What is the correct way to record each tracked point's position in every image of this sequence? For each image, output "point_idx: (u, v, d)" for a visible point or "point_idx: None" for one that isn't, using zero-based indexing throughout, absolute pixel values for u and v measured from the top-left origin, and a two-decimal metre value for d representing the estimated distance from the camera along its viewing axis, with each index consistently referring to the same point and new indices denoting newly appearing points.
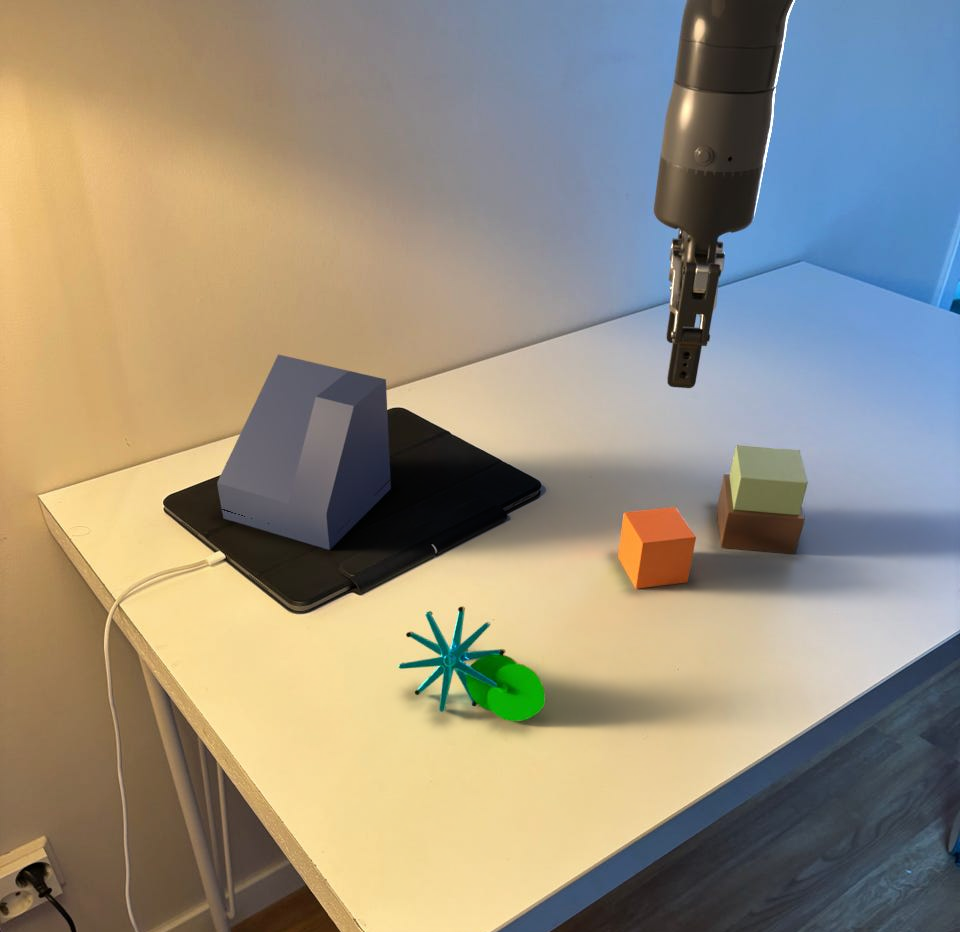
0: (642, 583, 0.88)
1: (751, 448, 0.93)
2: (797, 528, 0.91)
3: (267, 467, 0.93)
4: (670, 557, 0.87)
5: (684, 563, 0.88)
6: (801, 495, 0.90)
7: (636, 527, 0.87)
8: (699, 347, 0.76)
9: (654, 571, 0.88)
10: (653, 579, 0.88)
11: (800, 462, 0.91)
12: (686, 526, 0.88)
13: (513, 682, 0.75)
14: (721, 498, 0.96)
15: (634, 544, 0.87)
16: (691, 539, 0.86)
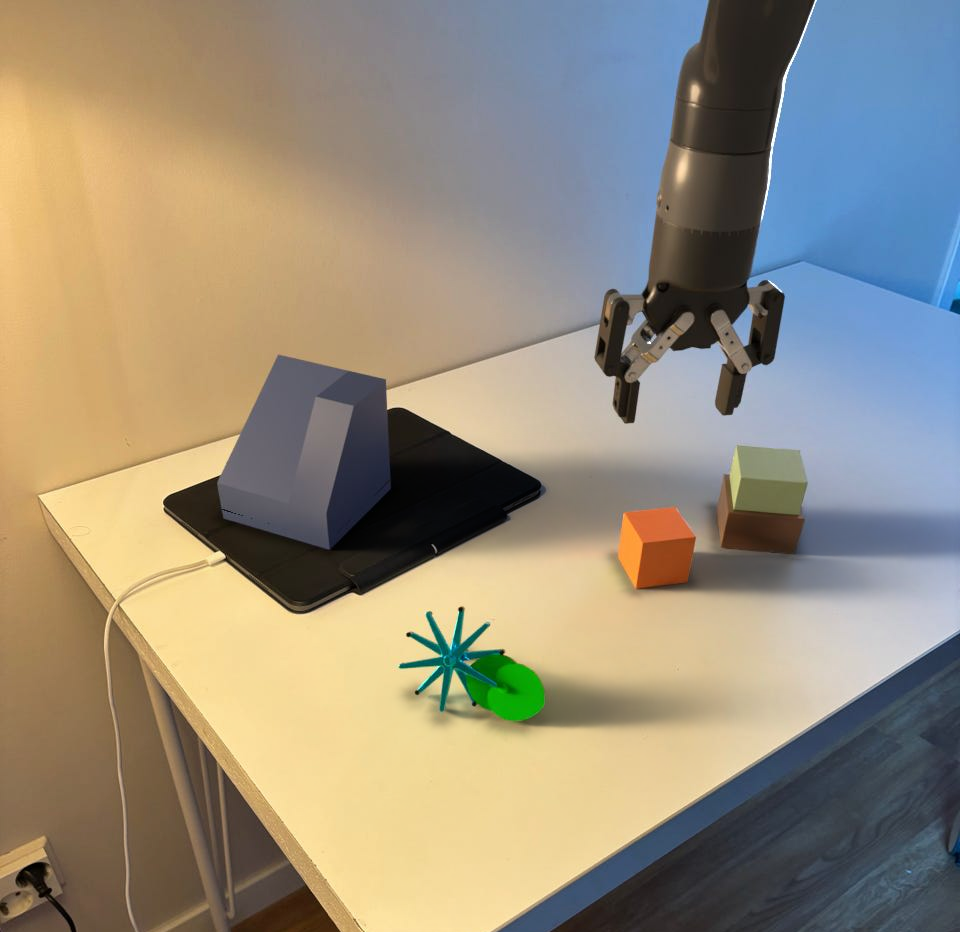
0: (642, 583, 0.88)
1: (751, 448, 0.93)
2: (797, 528, 0.91)
3: (267, 467, 0.93)
4: (670, 557, 0.87)
5: (684, 563, 0.88)
6: (801, 495, 0.90)
7: (636, 527, 0.87)
8: (630, 385, 0.77)
9: (654, 571, 0.88)
10: (653, 579, 0.88)
11: (800, 462, 0.91)
12: (686, 526, 0.88)
13: (513, 682, 0.75)
14: (721, 498, 0.96)
15: (634, 544, 0.87)
16: (691, 539, 0.86)
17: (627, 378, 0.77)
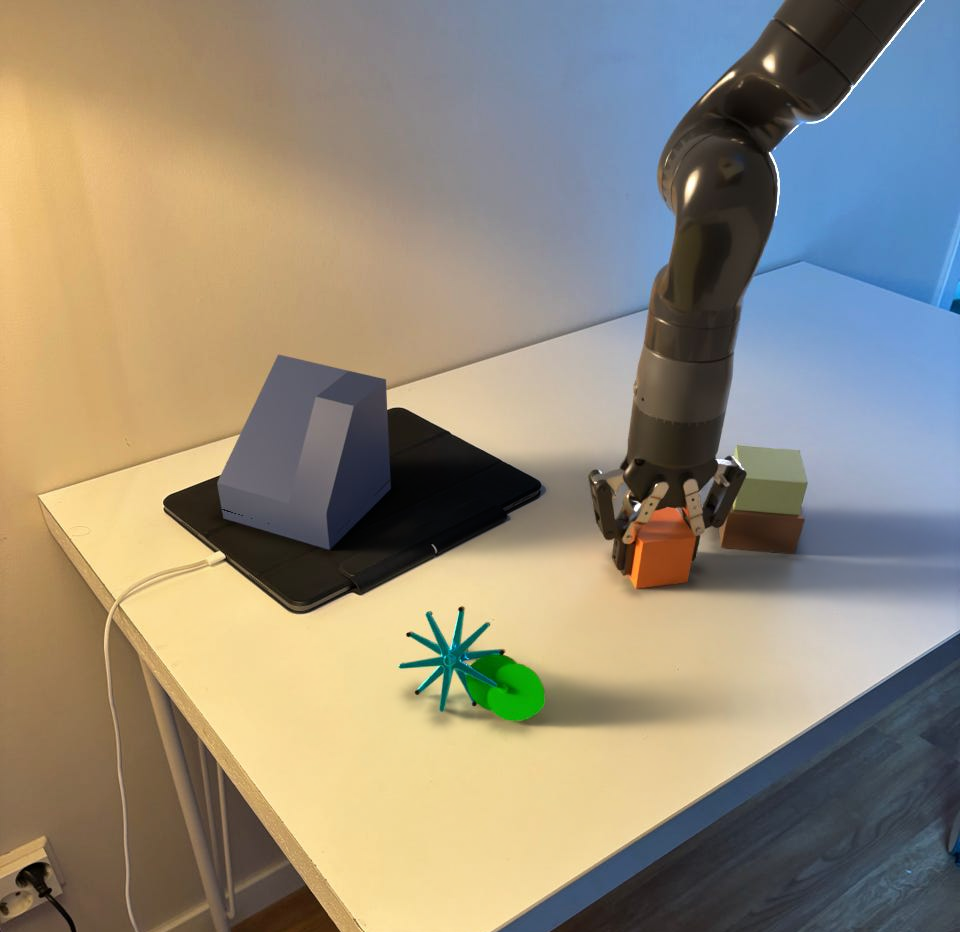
0: (642, 583, 0.88)
1: (751, 448, 0.93)
2: (797, 528, 0.91)
3: (267, 467, 0.93)
4: (670, 557, 0.87)
5: (684, 563, 0.88)
6: (801, 495, 0.90)
7: None
8: (627, 545, 0.87)
9: (654, 570, 0.88)
10: (653, 579, 0.88)
11: (800, 462, 0.91)
12: (686, 526, 0.88)
13: (513, 682, 0.75)
14: None
15: None
16: (691, 539, 0.86)
17: (624, 540, 0.86)
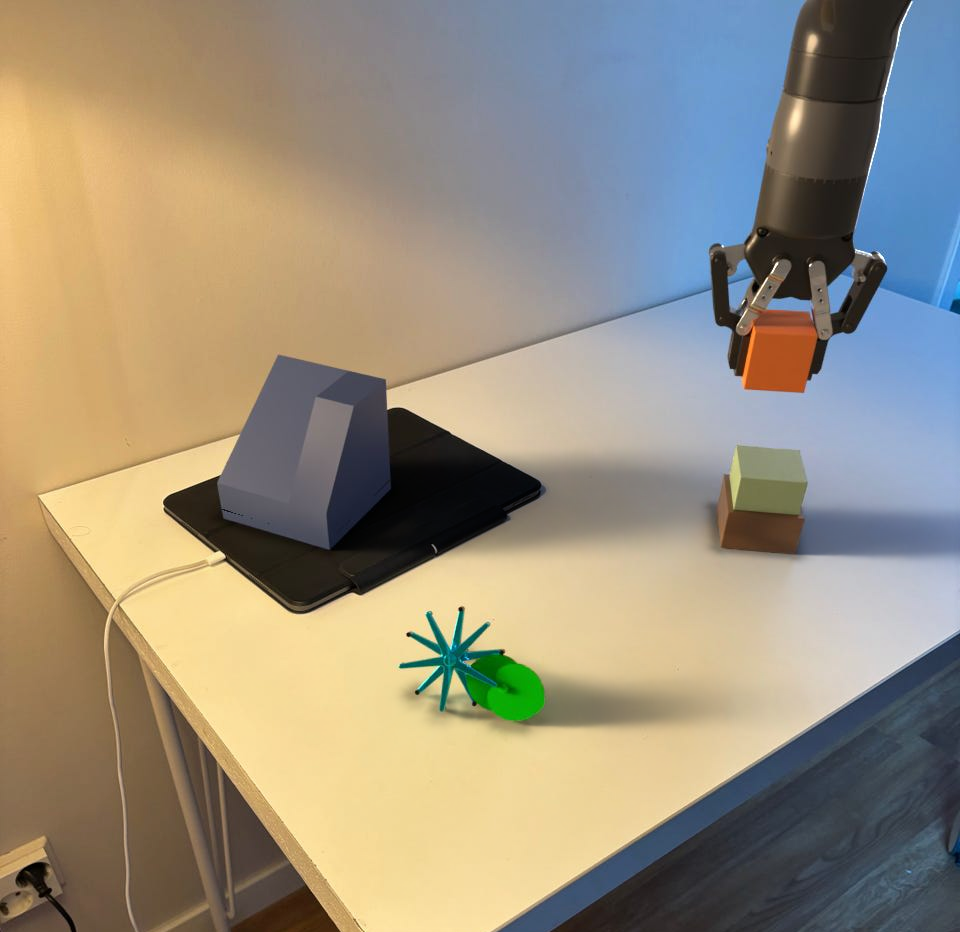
0: (751, 384, 0.82)
1: (751, 448, 0.93)
2: (797, 528, 0.91)
3: (267, 467, 0.93)
4: (786, 356, 0.80)
5: (801, 367, 0.81)
6: (801, 495, 0.90)
7: None
8: (742, 338, 0.81)
9: (766, 370, 0.81)
10: (764, 381, 0.82)
11: (800, 462, 0.91)
12: (811, 326, 0.80)
13: (513, 682, 0.75)
14: (721, 498, 0.96)
15: None
16: (812, 338, 0.79)
17: (738, 330, 0.81)
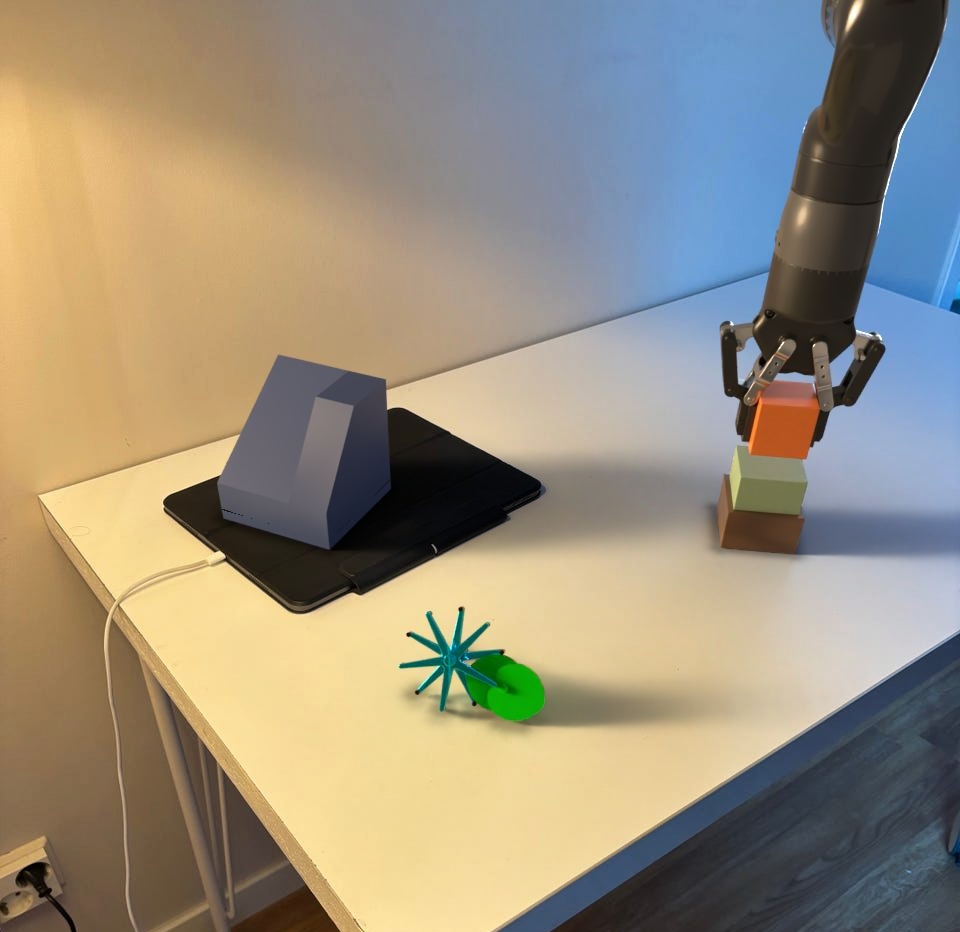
0: (757, 450, 0.88)
1: None
2: (797, 528, 0.91)
3: (267, 467, 0.93)
4: (790, 426, 0.86)
5: (804, 436, 0.86)
6: (801, 495, 0.90)
7: None
8: (749, 407, 0.87)
9: (772, 438, 0.87)
10: (769, 448, 0.87)
11: (800, 462, 0.91)
12: (814, 399, 0.86)
13: (513, 682, 0.75)
14: (721, 498, 0.96)
15: None
16: (814, 410, 0.85)
17: (746, 401, 0.86)
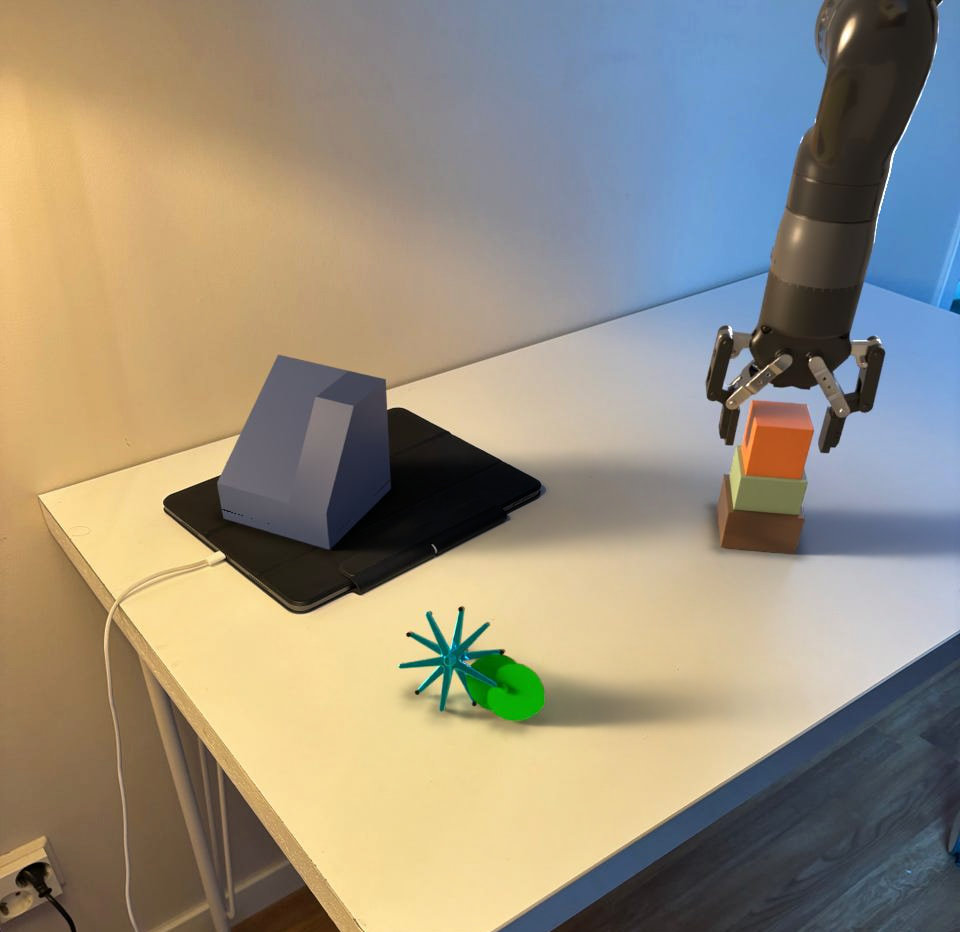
0: (752, 470, 0.89)
1: None
2: (797, 528, 0.91)
3: (267, 467, 0.93)
4: (784, 447, 0.87)
5: (799, 457, 0.88)
6: (801, 495, 0.90)
7: (757, 413, 0.88)
8: (731, 411, 0.88)
9: (767, 459, 0.88)
10: (764, 468, 0.89)
11: None
12: (809, 420, 0.87)
13: (513, 682, 0.75)
14: (721, 498, 0.96)
15: (752, 429, 0.88)
16: (808, 431, 0.86)
17: (728, 405, 0.87)
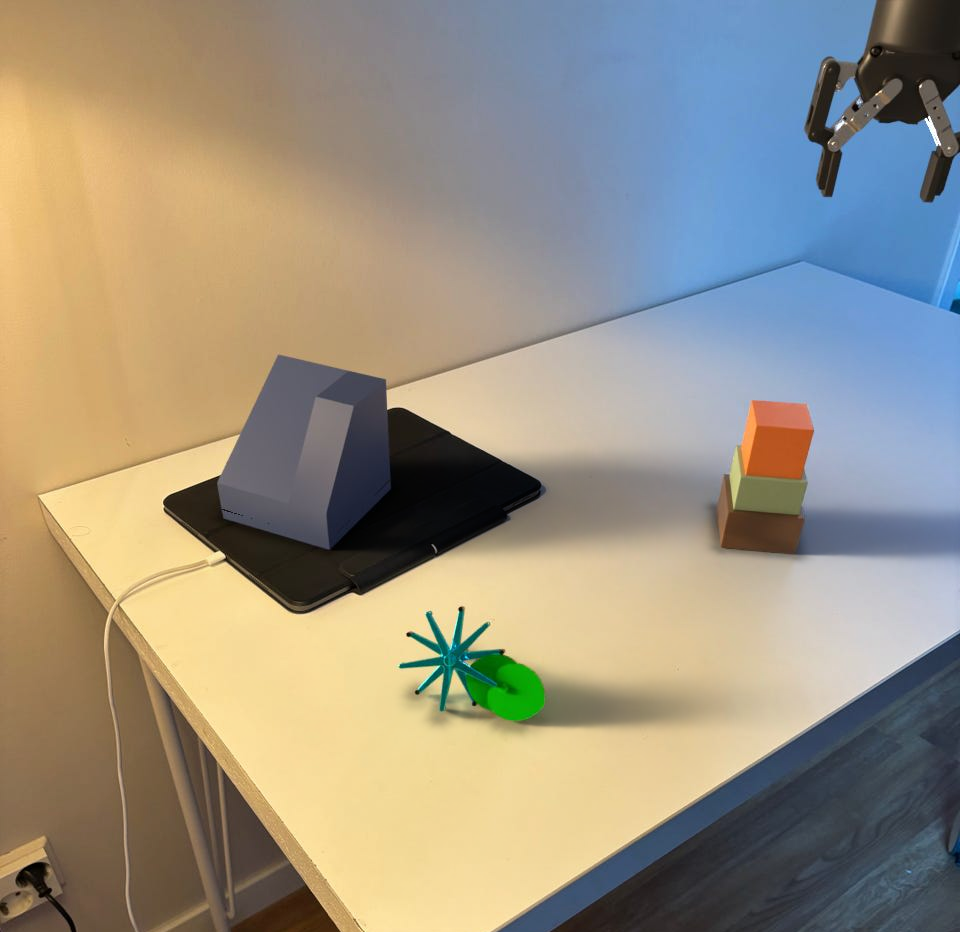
0: (752, 470, 0.89)
1: None
2: (797, 528, 0.91)
3: (267, 467, 0.93)
4: (784, 447, 0.87)
5: (799, 457, 0.88)
6: (801, 495, 0.90)
7: (757, 413, 0.88)
8: (833, 155, 0.84)
9: (767, 459, 0.88)
10: (764, 468, 0.89)
11: None
12: (808, 420, 0.87)
13: (513, 682, 0.75)
14: (721, 498, 0.96)
15: (752, 429, 0.88)
16: (808, 431, 0.86)
17: (830, 146, 0.83)
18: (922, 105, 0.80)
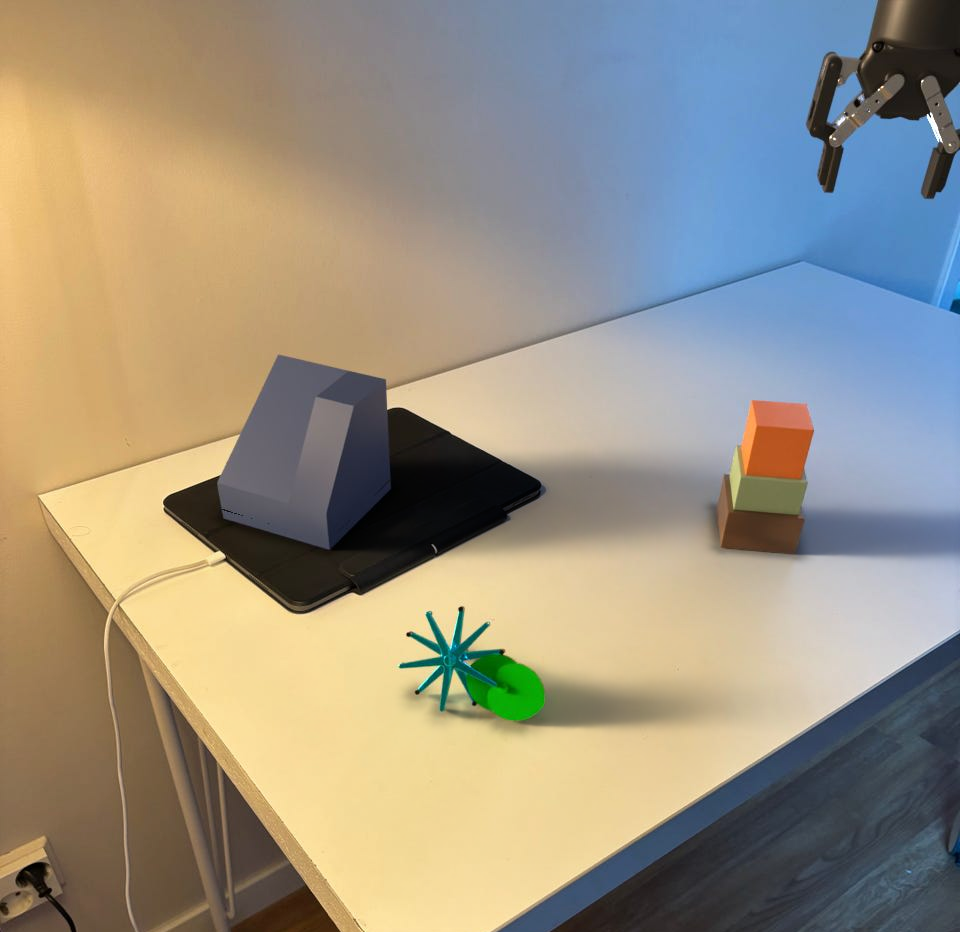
0: (752, 470, 0.89)
1: None
2: (797, 528, 0.91)
3: (267, 467, 0.93)
4: (784, 447, 0.87)
5: (799, 457, 0.88)
6: (801, 495, 0.90)
7: (757, 413, 0.88)
8: (834, 150, 0.84)
9: (767, 459, 0.88)
10: (764, 468, 0.89)
11: None
12: (808, 420, 0.87)
13: (513, 682, 0.75)
14: (721, 498, 0.96)
15: (751, 429, 0.88)
16: (808, 431, 0.86)
17: (831, 141, 0.83)
18: (924, 101, 0.81)
